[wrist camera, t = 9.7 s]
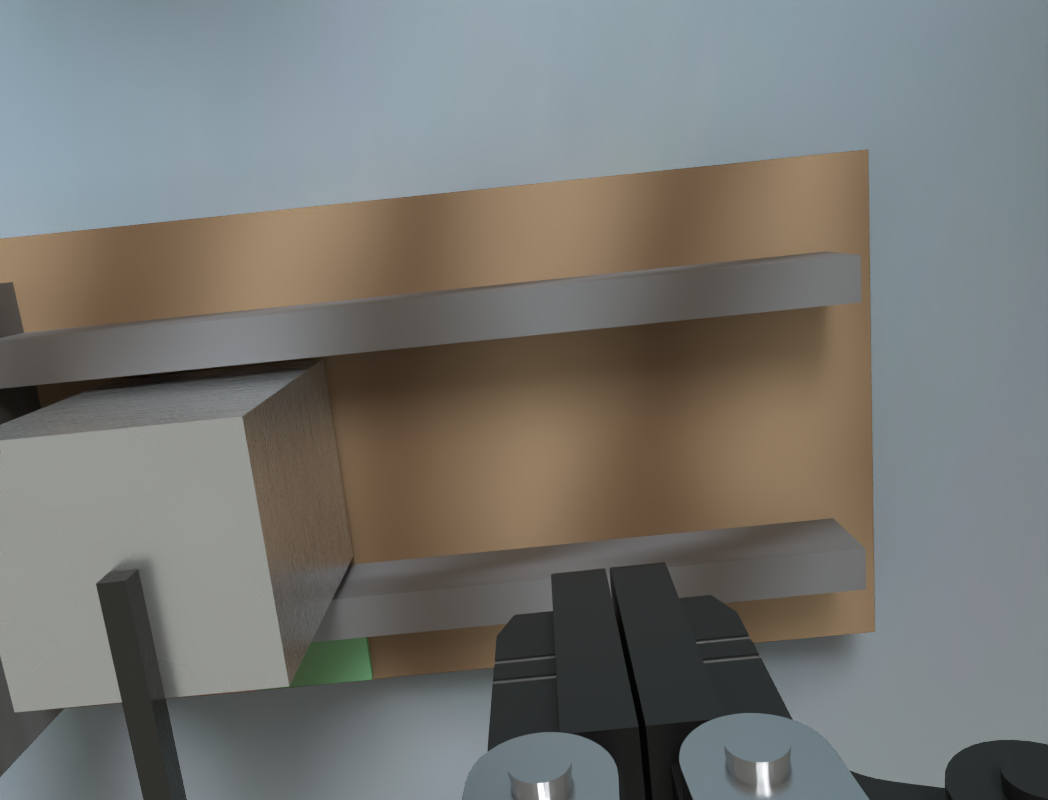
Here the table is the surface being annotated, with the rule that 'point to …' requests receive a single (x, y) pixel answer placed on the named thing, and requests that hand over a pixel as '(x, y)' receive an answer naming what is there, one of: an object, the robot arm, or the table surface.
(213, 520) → the gauge slider
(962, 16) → the table surface
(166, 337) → the gauge track
